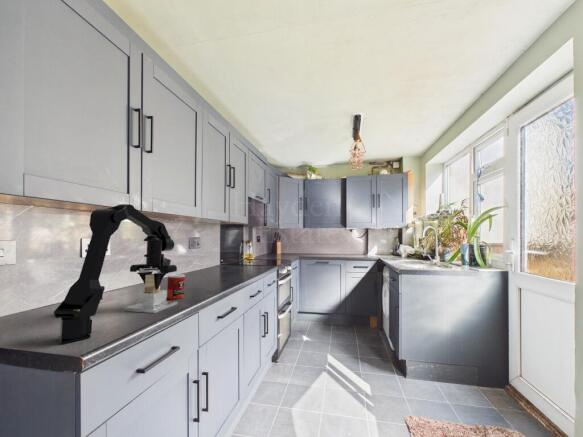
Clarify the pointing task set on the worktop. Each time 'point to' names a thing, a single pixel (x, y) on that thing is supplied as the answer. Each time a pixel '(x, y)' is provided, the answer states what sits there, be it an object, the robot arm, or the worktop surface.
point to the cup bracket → (151, 302)
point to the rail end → (150, 284)
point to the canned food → (176, 286)
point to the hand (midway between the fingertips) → (152, 288)
